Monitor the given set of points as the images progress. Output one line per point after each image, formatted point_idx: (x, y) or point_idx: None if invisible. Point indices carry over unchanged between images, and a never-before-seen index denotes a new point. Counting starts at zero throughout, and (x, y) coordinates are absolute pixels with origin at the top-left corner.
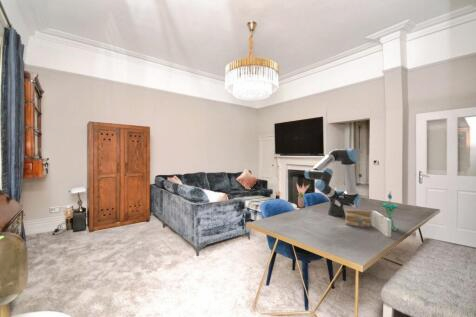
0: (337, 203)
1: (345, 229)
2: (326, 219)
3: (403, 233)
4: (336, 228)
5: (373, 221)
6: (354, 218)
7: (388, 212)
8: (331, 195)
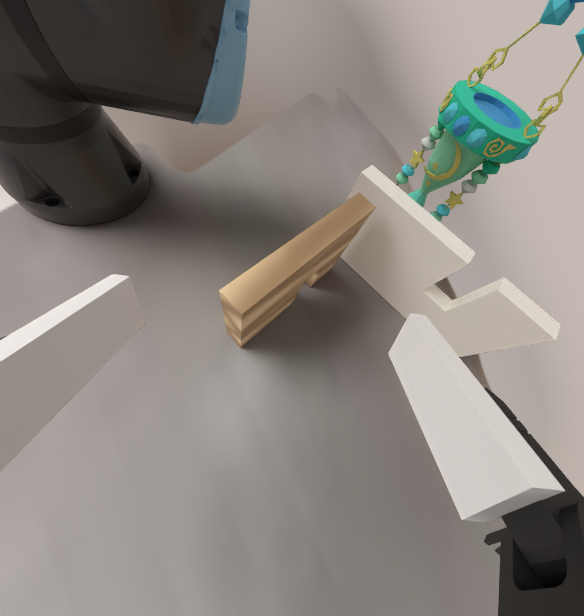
0: (73, 369)
1: (287, 455)
2: None
3: None
4: (234, 507)
5: None
6: (285, 298)
7: (451, 179)
8: None
